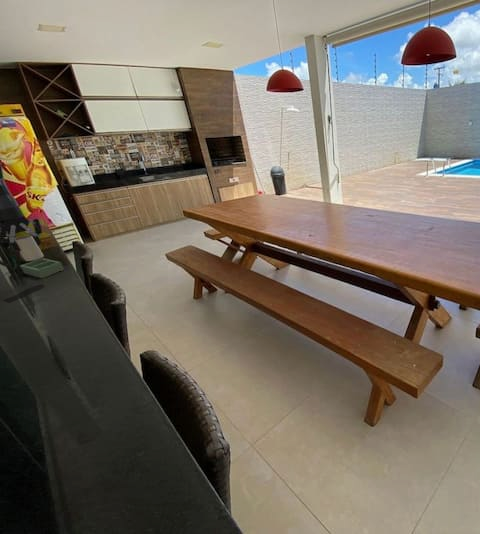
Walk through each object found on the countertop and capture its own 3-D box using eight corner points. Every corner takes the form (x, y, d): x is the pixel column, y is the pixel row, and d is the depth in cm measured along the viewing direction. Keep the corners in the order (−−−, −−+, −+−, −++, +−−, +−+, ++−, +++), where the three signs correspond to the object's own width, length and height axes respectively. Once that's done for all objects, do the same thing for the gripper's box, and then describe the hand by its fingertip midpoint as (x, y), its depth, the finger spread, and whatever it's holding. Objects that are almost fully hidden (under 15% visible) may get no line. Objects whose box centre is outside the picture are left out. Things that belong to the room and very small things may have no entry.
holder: (41, 278, 133) (37, 270, 131) (24, 273, 139) (19, 265, 138) (64, 270, 140) (60, 262, 138) (47, 265, 146) (43, 258, 144)
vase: (23, 267, 146) (13, 250, 143) (25, 263, 151) (16, 246, 147) (43, 262, 150) (33, 246, 146) (44, 258, 155) (35, 242, 151)
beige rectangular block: (29, 261, 122) (16, 240, 118) (22, 260, 124) (9, 239, 120) (46, 256, 126) (34, 235, 122) (39, 254, 128) (28, 234, 124)
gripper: (24, 201, 123) (46, 241, 130) (-27, 211, 111) (0, 254, 119) (33, 202, 120) (55, 242, 127) (-19, 212, 108) (9, 256, 116)
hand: (28, 247), depth 123 cm, fingers closed on beige rectangular block, 5 cm apart
